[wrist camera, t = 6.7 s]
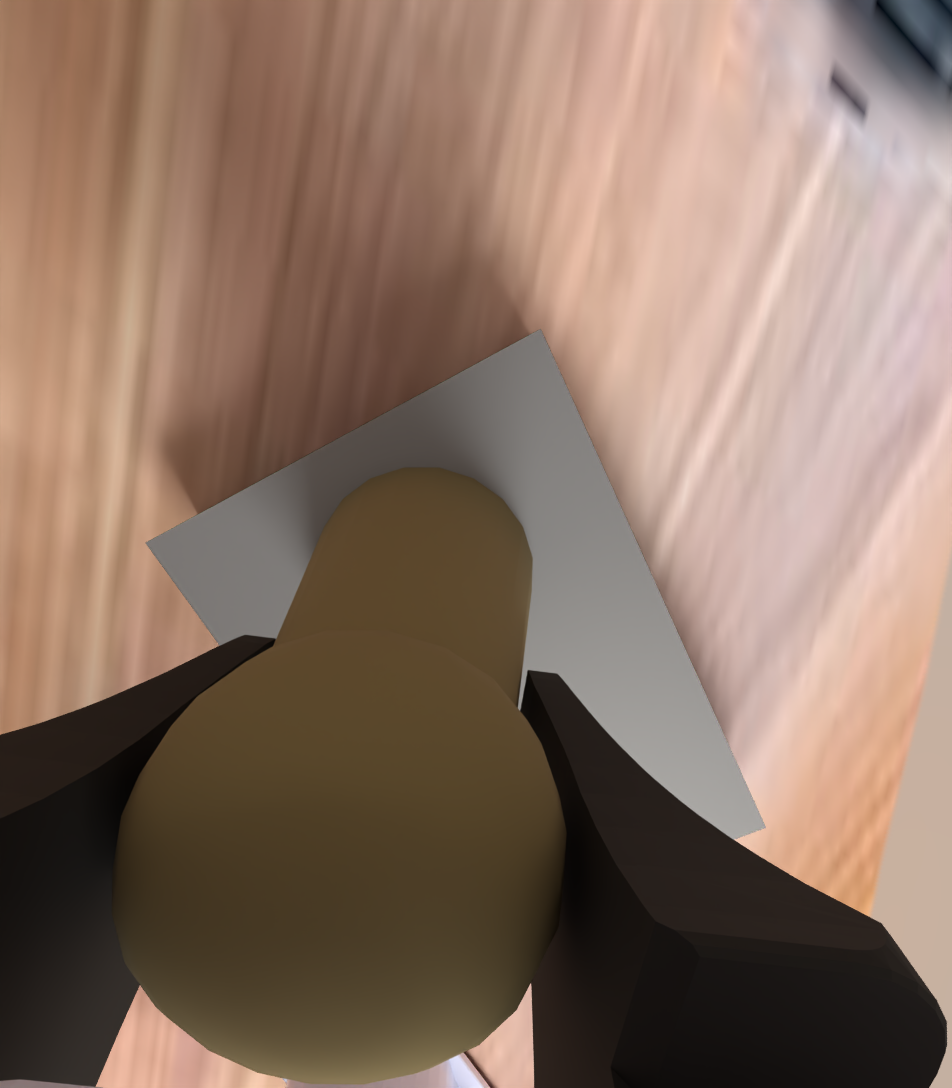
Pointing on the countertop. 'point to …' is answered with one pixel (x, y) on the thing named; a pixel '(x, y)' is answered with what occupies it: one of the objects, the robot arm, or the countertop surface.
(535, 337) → the gray flat panel
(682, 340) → the countertop surface
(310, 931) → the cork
